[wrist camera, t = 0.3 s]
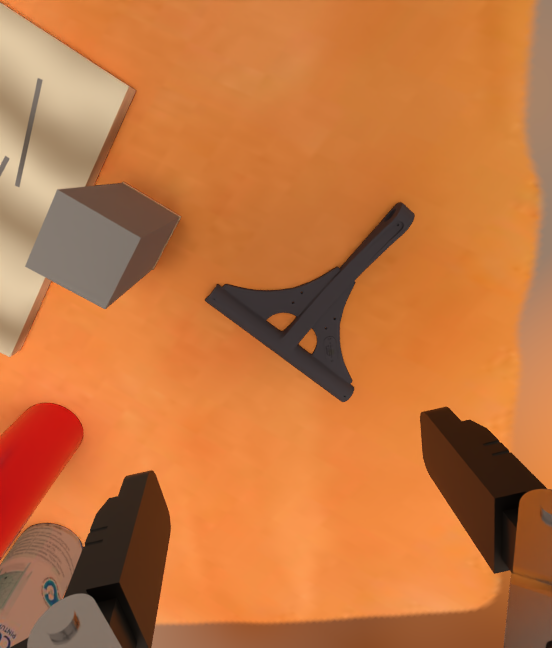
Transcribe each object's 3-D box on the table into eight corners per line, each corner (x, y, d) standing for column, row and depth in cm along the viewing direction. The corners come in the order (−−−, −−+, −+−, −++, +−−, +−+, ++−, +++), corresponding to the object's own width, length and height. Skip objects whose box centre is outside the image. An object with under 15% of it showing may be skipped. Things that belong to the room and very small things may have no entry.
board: (-12, -6, 26) (-28, -16, 25) (136, 90, 28) (128, 86, 26) (-105, 287, 32) (-122, 293, 31) (20, 349, 34) (9, 357, 33)
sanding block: (123, 181, 30) (56, 187, 21) (181, 216, 31) (142, 237, 21) (97, 237, 31) (23, 266, 22) (154, 269, 32) (105, 310, 23)
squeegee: (466, 266, 33) (483, 274, 30) (339, 395, 37) (344, 413, 34) (329, 140, 30) (335, 137, 27) (206, 296, 34) (200, 306, 31)
